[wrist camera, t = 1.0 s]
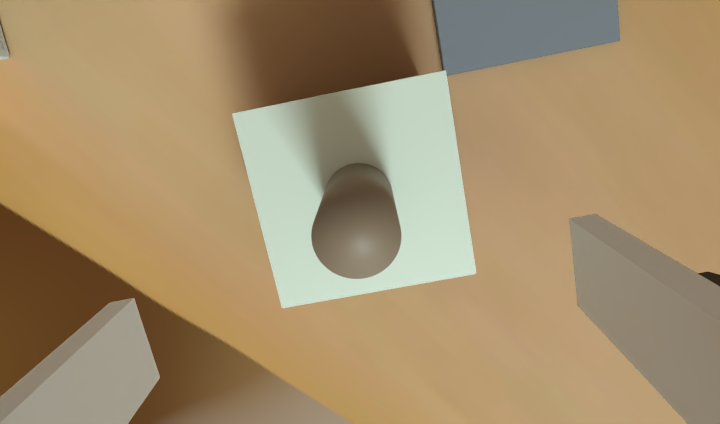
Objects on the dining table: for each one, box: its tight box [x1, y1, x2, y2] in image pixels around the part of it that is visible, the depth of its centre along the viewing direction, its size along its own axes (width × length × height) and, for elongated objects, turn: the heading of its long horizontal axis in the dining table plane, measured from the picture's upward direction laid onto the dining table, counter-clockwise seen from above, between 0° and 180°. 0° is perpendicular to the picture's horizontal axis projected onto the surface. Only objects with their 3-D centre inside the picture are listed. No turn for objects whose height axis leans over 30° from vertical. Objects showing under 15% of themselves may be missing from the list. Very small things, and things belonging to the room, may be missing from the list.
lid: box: [232, 70, 476, 308], centre depth 24 cm, size 11×11×8 cm
